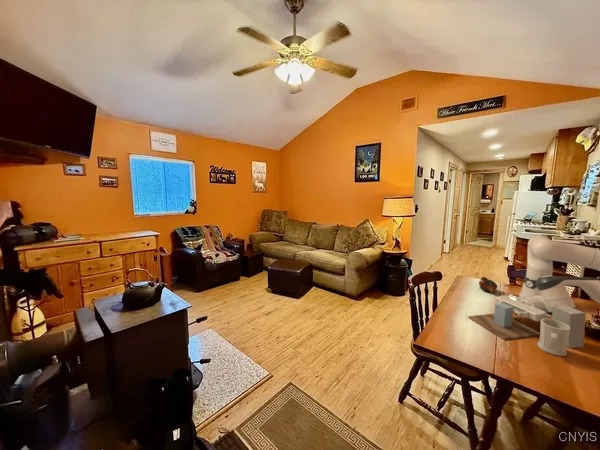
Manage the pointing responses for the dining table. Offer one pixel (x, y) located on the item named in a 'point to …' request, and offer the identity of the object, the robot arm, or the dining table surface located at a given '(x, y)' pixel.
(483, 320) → the walnut base
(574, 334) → the skincare box
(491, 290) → the decorative turtle
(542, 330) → the cup
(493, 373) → the dining table surface
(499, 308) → the tall grey rectangular prism
